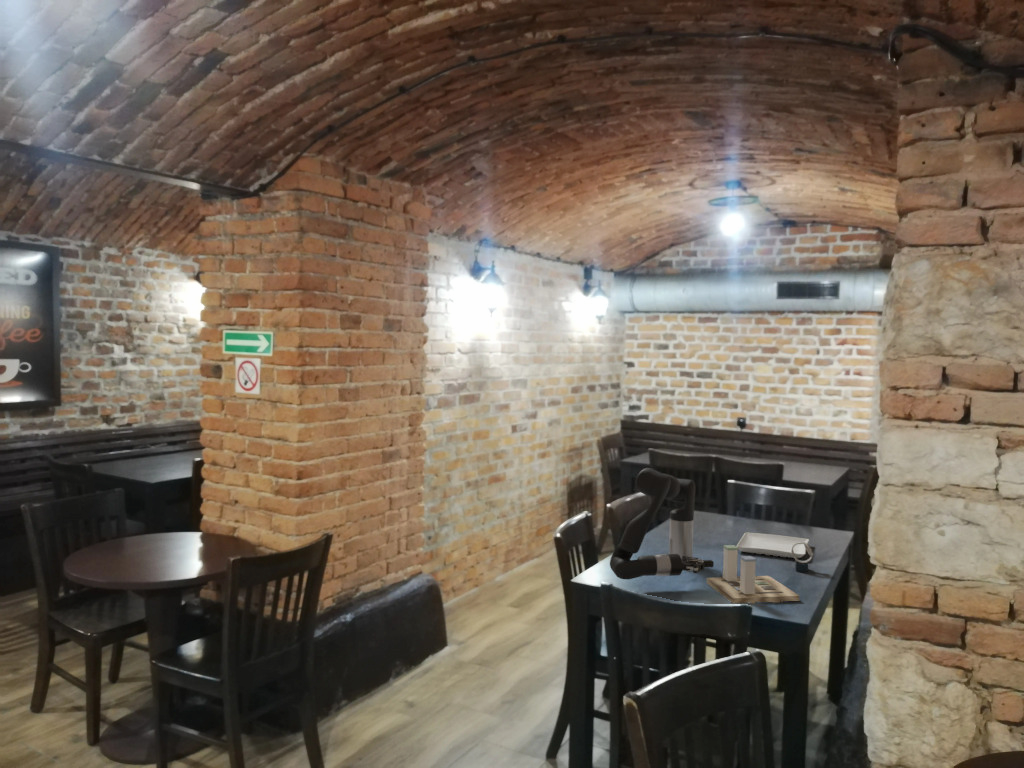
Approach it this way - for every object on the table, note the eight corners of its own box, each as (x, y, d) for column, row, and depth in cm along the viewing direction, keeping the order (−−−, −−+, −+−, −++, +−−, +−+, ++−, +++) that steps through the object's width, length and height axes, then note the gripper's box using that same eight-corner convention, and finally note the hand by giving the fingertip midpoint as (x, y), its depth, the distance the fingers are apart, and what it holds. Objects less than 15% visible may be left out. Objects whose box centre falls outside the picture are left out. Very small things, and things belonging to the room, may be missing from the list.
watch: (813, 573, 292) (814, 545, 291) (791, 571, 294) (792, 543, 294) (812, 569, 297) (813, 541, 296) (790, 566, 300) (791, 539, 299)
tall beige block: (727, 581, 272) (728, 548, 272) (722, 577, 277) (723, 545, 276) (737, 581, 273) (738, 548, 272) (732, 577, 277) (733, 544, 277)
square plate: (809, 546, 331) (809, 537, 331) (804, 563, 306) (805, 553, 306) (744, 539, 343) (745, 530, 342) (735, 554, 318) (735, 545, 318)
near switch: (744, 594, 259) (745, 559, 258) (739, 590, 263) (740, 556, 262) (755, 594, 259) (756, 559, 258) (749, 589, 263) (750, 555, 263)
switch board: (732, 604, 256) (732, 597, 256) (706, 583, 278) (706, 577, 278) (799, 601, 260) (799, 594, 260) (768, 581, 281) (768, 574, 281)
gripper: (673, 559, 264) (720, 558, 267) (660, 549, 277) (705, 548, 280) (672, 581, 265) (720, 579, 267) (659, 569, 278) (705, 568, 280)
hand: (712, 563), depth 274 cm, fingers closed
